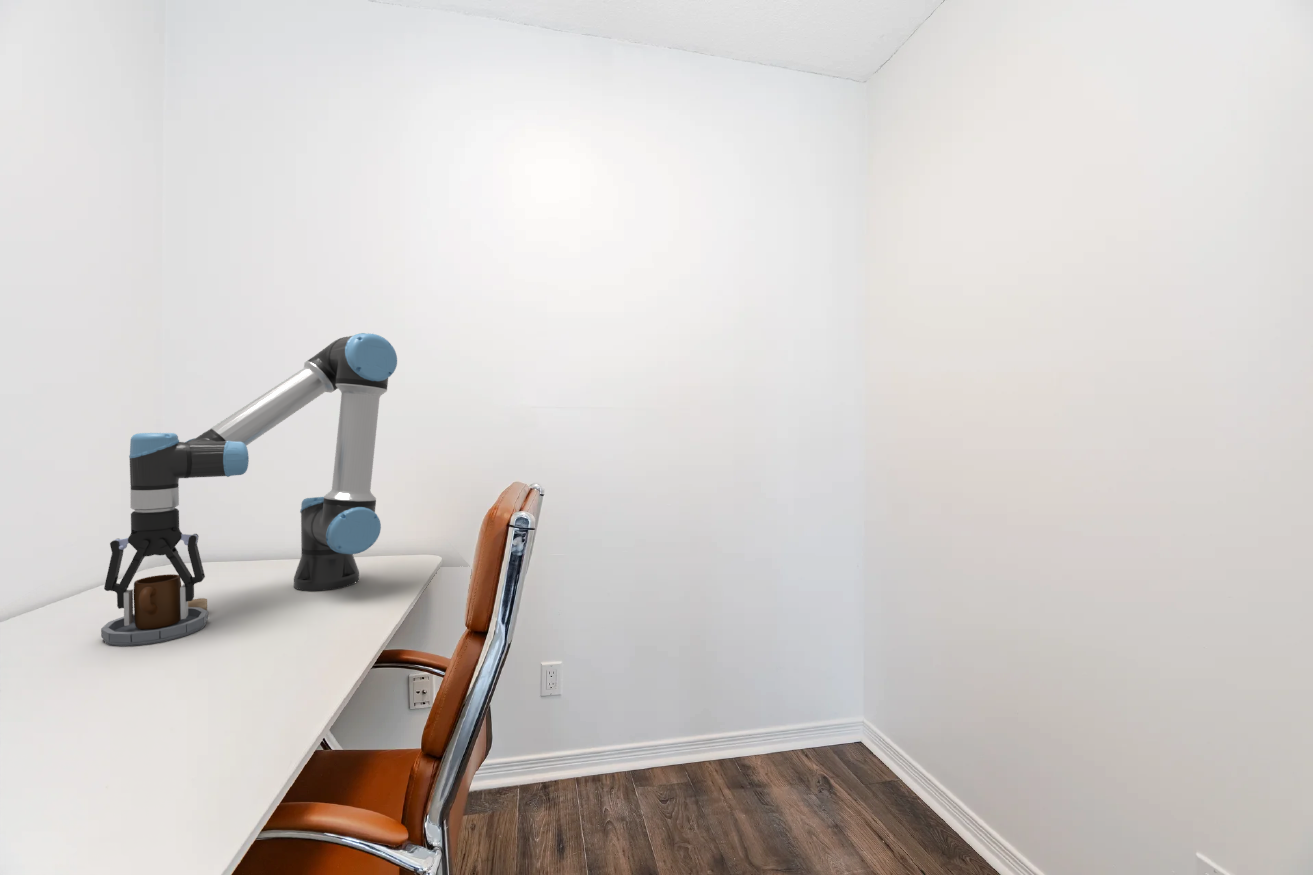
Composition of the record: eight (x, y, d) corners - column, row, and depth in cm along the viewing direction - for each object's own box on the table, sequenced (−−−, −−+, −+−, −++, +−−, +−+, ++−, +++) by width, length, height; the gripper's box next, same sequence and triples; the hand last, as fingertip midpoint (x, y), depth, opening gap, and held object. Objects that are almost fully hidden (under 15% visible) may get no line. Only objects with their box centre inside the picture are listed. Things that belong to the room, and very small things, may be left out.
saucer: (213, 613, 134) (213, 602, 134) (198, 638, 120) (197, 626, 119) (118, 624, 126) (118, 613, 126) (89, 651, 112) (89, 639, 112)
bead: (208, 610, 136) (208, 597, 136) (205, 615, 133) (205, 602, 133) (189, 612, 134) (188, 599, 134) (185, 617, 131) (185, 604, 131)
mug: (168, 634, 119) (167, 586, 118) (119, 640, 116) (117, 591, 115) (187, 615, 130) (185, 572, 129) (142, 620, 126) (141, 576, 126)
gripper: (222, 503, 130) (223, 607, 131) (93, 509, 120) (95, 621, 121) (215, 508, 124) (217, 618, 124) (78, 515, 114) (81, 634, 115)
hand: (157, 619), depth 123 cm, fingers open, 8 cm apart
